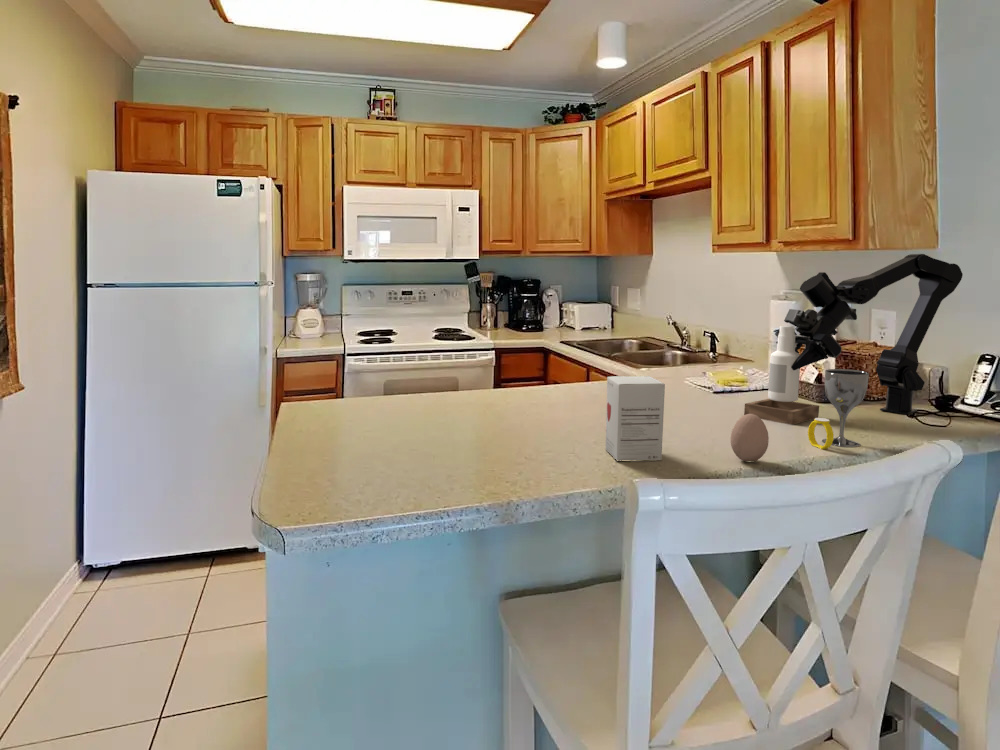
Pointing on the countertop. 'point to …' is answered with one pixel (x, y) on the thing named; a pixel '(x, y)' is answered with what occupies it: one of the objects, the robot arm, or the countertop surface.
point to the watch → (828, 430)
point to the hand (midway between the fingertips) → (783, 366)
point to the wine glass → (845, 397)
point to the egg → (749, 438)
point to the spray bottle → (784, 368)
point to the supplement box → (634, 417)
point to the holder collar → (782, 411)
